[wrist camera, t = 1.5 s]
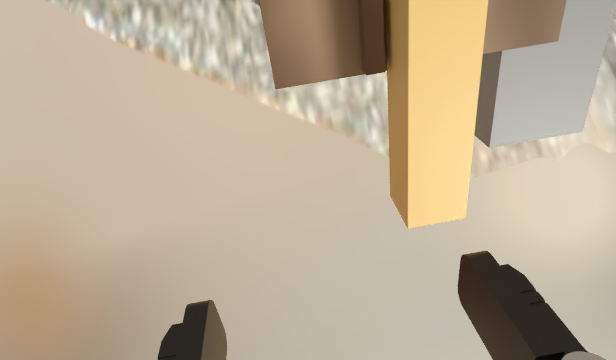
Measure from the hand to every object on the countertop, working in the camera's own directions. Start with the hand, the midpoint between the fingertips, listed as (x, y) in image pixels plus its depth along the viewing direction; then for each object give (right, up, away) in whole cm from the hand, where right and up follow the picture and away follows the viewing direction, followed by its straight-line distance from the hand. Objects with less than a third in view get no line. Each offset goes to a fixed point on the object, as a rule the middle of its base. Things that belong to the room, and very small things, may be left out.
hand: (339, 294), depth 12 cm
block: (+17, +24, +38) cm, 48 cm away
